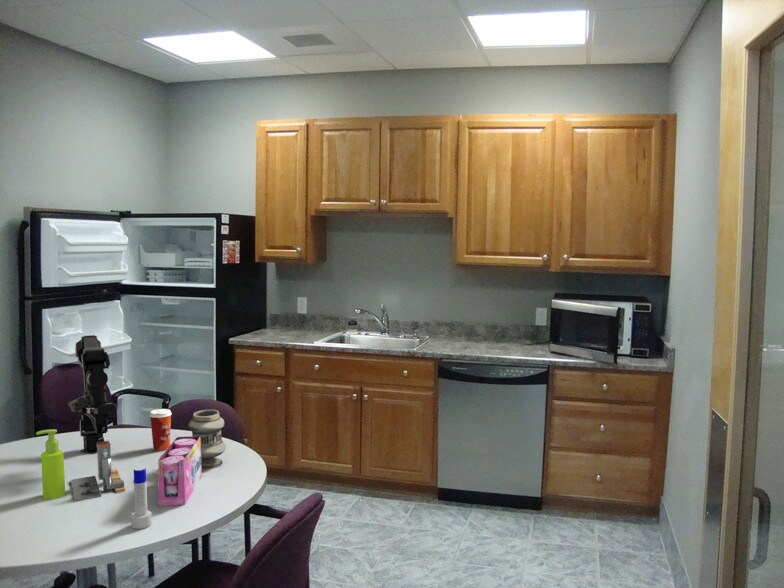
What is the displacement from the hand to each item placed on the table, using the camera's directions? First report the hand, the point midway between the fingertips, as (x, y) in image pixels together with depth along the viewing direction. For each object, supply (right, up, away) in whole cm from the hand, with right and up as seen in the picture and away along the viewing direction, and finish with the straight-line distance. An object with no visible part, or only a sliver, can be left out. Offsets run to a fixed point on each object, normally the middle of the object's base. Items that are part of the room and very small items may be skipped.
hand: (98, 433), depth 217 cm
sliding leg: (+8, -13, -13) cm, 20 cm away
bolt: (+31, -16, -42) cm, 55 cm away
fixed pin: (+13, -13, -18) cm, 26 cm away
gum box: (+34, -14, -18) cm, 41 cm away
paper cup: (+14, -10, +21) cm, 27 cm away
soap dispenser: (-4, -14, -22) cm, 27 cm away
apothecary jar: (+35, -12, +5) cm, 37 cm away
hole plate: (+4, -13, -17) cm, 22 cm away
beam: (+11, -13, -11) cm, 20 cm away
